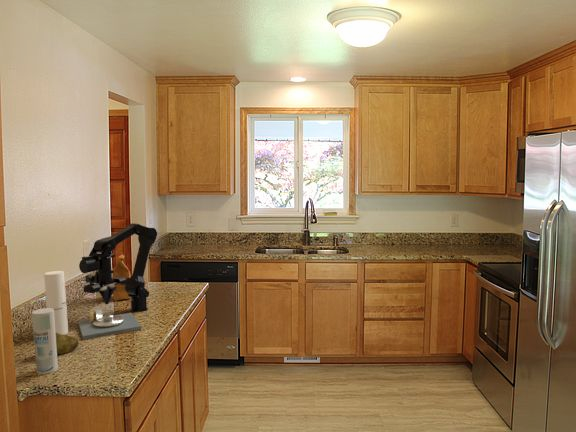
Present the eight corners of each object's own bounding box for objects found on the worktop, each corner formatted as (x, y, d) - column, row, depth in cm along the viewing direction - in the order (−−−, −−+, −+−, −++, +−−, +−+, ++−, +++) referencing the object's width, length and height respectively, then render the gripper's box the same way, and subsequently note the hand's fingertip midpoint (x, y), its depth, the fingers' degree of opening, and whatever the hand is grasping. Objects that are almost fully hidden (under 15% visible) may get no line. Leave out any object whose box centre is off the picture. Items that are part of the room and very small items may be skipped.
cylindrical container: (72, 331, 197) (67, 271, 194) (58, 336, 190) (54, 275, 188) (58, 329, 199) (54, 270, 197) (44, 335, 192) (39, 274, 190)
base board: (131, 315, 215) (130, 302, 215) (141, 329, 196) (140, 315, 195) (78, 324, 205) (77, 310, 205) (83, 339, 186) (82, 324, 185)
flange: (93, 318, 207) (92, 308, 207) (128, 317, 206) (127, 307, 206) (80, 327, 195) (79, 316, 194) (117, 327, 194) (116, 316, 194)
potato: (75, 355, 170) (74, 333, 170) (36, 359, 167) (34, 337, 167) (80, 346, 178) (78, 325, 178) (42, 350, 175) (40, 329, 175)
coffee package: (134, 294, 254) (132, 253, 252) (132, 300, 242) (129, 257, 240) (114, 295, 252) (112, 254, 250) (111, 301, 240) (108, 258, 238)
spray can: (61, 365, 161) (57, 307, 159) (52, 373, 155) (48, 313, 153) (42, 366, 161) (37, 308, 159) (32, 374, 154) (27, 314, 153)
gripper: (108, 263, 220) (110, 296, 221) (73, 271, 204) (76, 307, 205) (126, 265, 215) (128, 299, 216) (91, 273, 198) (94, 310, 200)
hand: (106, 303), depth 209 cm, fingers closed
